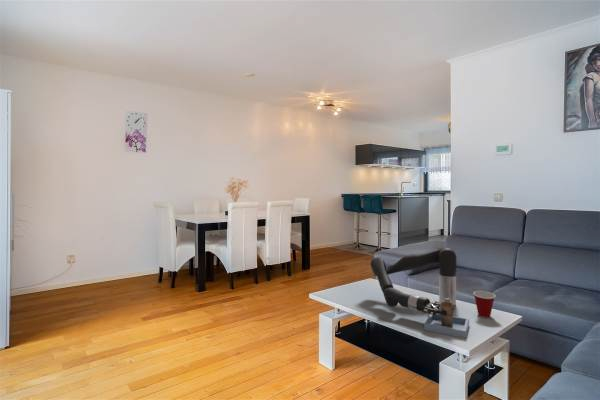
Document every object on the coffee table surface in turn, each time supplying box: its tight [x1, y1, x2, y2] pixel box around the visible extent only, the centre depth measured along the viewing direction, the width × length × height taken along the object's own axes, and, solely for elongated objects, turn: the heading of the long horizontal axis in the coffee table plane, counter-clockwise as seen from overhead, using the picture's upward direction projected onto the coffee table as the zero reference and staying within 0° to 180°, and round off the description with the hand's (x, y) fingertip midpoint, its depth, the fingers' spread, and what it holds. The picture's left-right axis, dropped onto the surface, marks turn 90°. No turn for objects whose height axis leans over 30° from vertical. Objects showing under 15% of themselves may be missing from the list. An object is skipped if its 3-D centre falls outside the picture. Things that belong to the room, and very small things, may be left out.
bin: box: [424, 314, 470, 339], centre depth 166 cm, size 18×18×3 cm
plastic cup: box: [472, 290, 497, 318], centre depth 182 cm, size 11×11×12 cm
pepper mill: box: [442, 298, 454, 328], centre depth 166 cm, size 5×5×14 cm
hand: (450, 311), depth 165 cm, fingers open, 8 cm apart
